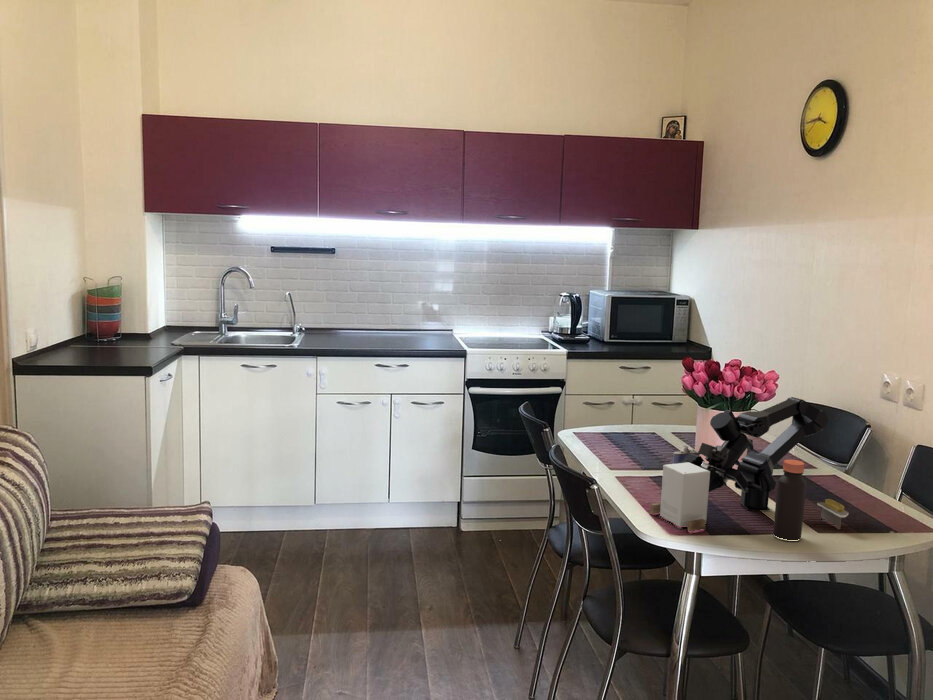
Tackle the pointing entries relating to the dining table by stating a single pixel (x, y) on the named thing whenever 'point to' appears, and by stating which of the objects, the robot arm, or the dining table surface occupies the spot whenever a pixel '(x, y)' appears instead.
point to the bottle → (790, 501)
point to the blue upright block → (682, 455)
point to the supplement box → (684, 493)
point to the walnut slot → (691, 524)
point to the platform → (832, 511)
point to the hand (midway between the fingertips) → (697, 494)
